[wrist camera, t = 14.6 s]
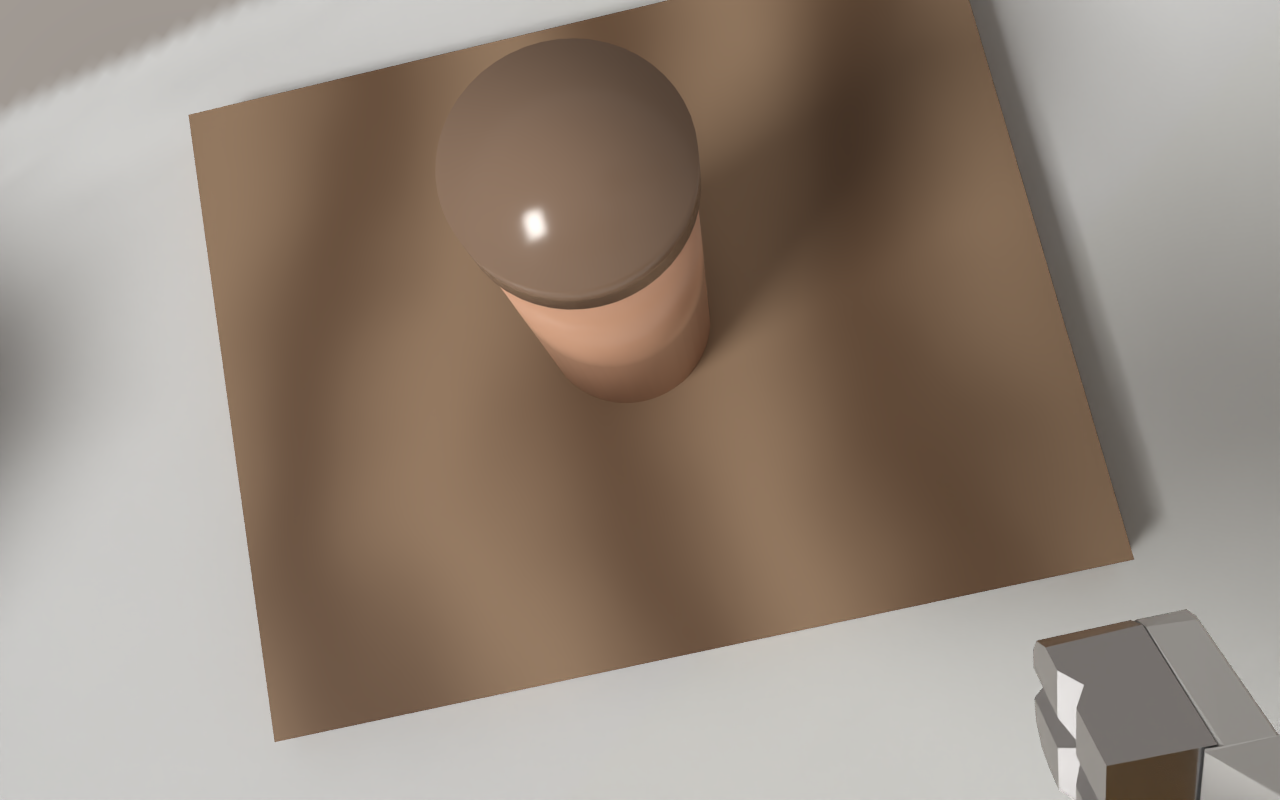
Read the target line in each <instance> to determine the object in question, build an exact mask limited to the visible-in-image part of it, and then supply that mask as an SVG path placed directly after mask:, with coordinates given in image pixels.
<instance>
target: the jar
mask: <svg viewBox="0 0 1280 800" xmlns="http://www.w3.org/2000/svg"><path fill="white" fill-rule="evenodd" d="M435 177H436V186H437V193H438V197H439V200H440V204H441V208H442V210H443V213H444V215H445V217H446V220H447V222H448V224H449V226H450V227H451V229H452V231H453V232H454V234H455V236H456V237H457V238H458V240H459V241H460V243H461V244H462V245H463V247H464V248H465V249H466V251H467V252H468V253H469V255H470V256H471V257H472V259H473V260H474V261H475V263H476V264H477V265H478V266H479V268H480V269H481V270H482V271H483V272H484V273H485V274H486V275H487V276H488V277H489V278H490V279H491V280H492V281H493V282H494V283H496V284H497V285H498V286H500V287H501V289H502V290H503V291H504V293H505V294H506V296H507V297H508V298H509V300H510V301H511V302H512V304H513V305H514V307H515V308H516V309H517V311H518V312H519V314H520V315H521V316H522V318H523V319H524V321H525V322H526V323H527V325H528V326H529V327H530V329H531V330H532V332H533V333H534V334H535V336H536V337H537V339H538V340H539V341H540V343H541V344H542V345H543V347H544V348H545V350H546V351H547V352H548V354H549V355H550V357H551V358H552V359H553V361H554V362H555V363H556V365H557V366H558V368H559V369H560V370H561V371H562V373H563V374H564V375H565V377H566V378H567V379H569V380H570V381H571V382H572V383H573V384H574V385H575V386H577V387H578V388H579V389H581V390H582V391H584V392H586V393H588V394H589V395H591V396H594V397H596V398H599V399H602V400H606V401H610V402H618V403H635V402H641V401H646V400H650V399H653V398H656V397H658V396H661V395H663V394H665V393H667V392H669V391H670V390H672V389H674V388H675V387H676V386H678V385H679V384H680V383H681V382H683V381H684V380H685V379H686V378H687V377H688V376H689V375H690V374H691V372H692V371H693V370H694V368H695V367H696V366H697V364H698V363H699V361H700V359H701V357H702V355H703V353H704V351H705V348H706V346H707V342H708V338H709V332H710V308H709V299H708V290H707V281H706V271H705V262H704V253H703V244H702V235H701V226H700V217H699V206H700V198H701V171H700V161H699V151H698V143H697V137H696V131H695V128H694V124H693V121H692V118H691V115H690V113H689V111H688V109H687V106H686V104H685V102H684V100H683V99H682V97H681V96H680V94H679V93H678V91H677V90H676V88H675V87H674V86H673V84H672V83H671V82H670V81H669V80H668V79H667V77H666V76H665V75H664V74H663V73H661V72H660V71H659V70H658V69H657V68H656V67H655V66H653V65H652V64H651V63H649V62H648V61H646V60H645V59H643V58H642V57H640V56H639V55H637V54H635V53H633V52H631V51H629V50H627V49H625V48H622V47H619V46H616V45H613V44H610V43H607V42H602V41H597V40H592V39H578V38H570V39H556V40H550V41H544V42H539V43H536V44H533V45H529V46H526V47H523V48H521V49H519V50H517V51H514V52H512V53H510V54H508V55H506V56H504V57H503V58H501V59H499V60H498V61H496V62H494V63H493V64H492V65H490V66H489V67H488V68H486V69H485V70H484V71H482V72H481V73H480V74H479V75H478V76H477V77H476V78H475V79H474V80H473V81H472V82H471V83H470V84H469V85H468V86H467V88H466V89H465V90H464V91H463V92H462V94H461V95H460V96H459V98H458V99H457V101H456V102H455V104H454V106H453V107H452V109H451V111H450V112H449V115H448V117H447V119H446V121H445V124H444V126H443V129H442V132H441V135H440V139H439V142H438V148H437V154H436V166H435Z"/></svg>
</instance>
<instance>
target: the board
mask: <svg viewBox="0 0 1280 800" xmlns="http://www.w3.org/2000/svg"><path fill="white" fill-rule="evenodd" d="M570 38H578V39H592V40H597V41H602V42H607V43H610V44H613V45H616V46H619V47H622V48H625V49H627V50H629V51H631V52H633V53H635V54H637V55H639V56H640V57H642V58H643V59H645V60H646V61H648V62H649V63H651V64H652V65H653V66H655V67H656V68H657V69H658V70H659V71H660V72H661V73H663V74H664V75H665V76H666V77H667V79H668V80H669V81H670V82H671V83H672V84H673V86H674V87H675V88H676V90H677V91H678V93H679V94H680V96H681V97H682V99H683V100H684V102H685V104H686V106H687V109H688V111H689V113H690V115H691V118H692V121H693V124H694V128H695V131H696V137H697V143H698V151H699V161H700V171H701V198H700V206H699V217H700V226H701V235H702V244H703V253H704V262H705V271H706V281H707V290H708V299H709V308H710V332H709V338H708V342H707V346H706V348H705V351H704V353H703V355H702V357H701V359H700V361H699V363H698V364H697V366H696V367H695V368H694V370H693V371H692V372H691V374H690V375H689V376H688V377H687V378H686V379H685V380H684V381H683V382H681V383H680V384H679V385H678V386H676V387H675V388H674V389H672V390H670V391H669V392H667V393H665V394H663V395H661V396H658V397H656V398H653V399H650V400H646V401H641V402H635V403H618V402H610V401H606V400H602V399H599V398H596V397H594V396H591V395H589V394H588V393H586V392H584V391H582V390H581V389H579V388H578V387H577V386H575V385H574V384H573V383H572V382H571V381H570V380H569V379H567V378H566V377H565V375H564V374H563V373H562V371H561V370H560V369H559V368H558V366H557V365H556V363H555V362H554V361H553V359H552V358H551V357H550V355H549V354H548V352H547V351H546V350H545V348H544V347H543V345H542V344H541V343H540V341H539V340H538V339H537V337H536V336H535V334H534V333H533V332H532V330H531V329H530V327H529V326H528V325H527V323H526V322H525V321H524V319H523V318H522V316H521V315H520V314H519V312H518V311H517V309H516V308H515V307H514V305H513V304H512V302H511V301H510V300H509V298H508V297H507V296H506V294H505V293H504V291H503V290H502V289H501V287H500V286H498V285H497V284H496V283H494V282H493V281H492V280H491V279H490V278H489V277H488V276H487V275H486V274H485V273H484V272H483V271H482V270H481V269H480V268H479V266H478V265H477V264H476V263H475V261H474V260H473V259H472V257H471V256H470V255H469V253H468V252H467V251H466V249H465V248H464V247H463V245H462V244H461V243H460V241H459V240H458V238H457V237H456V236H455V234H454V232H453V231H452V229H451V227H450V226H449V224H448V222H447V220H446V217H445V215H444V213H443V210H442V208H441V204H440V200H439V197H438V193H437V186H436V177H435V166H436V154H437V148H438V142H439V139H440V135H441V132H442V129H443V126H444V124H445V121H446V119H447V117H448V115H449V112H450V111H451V109H452V107H453V106H454V104H455V102H456V101H457V99H458V98H459V96H460V95H461V94H462V92H463V91H464V90H465V89H466V88H467V86H468V85H469V84H470V83H471V82H472V81H473V80H474V79H475V78H476V77H477V76H478V75H479V74H480V73H481V72H482V71H484V70H485V69H486V68H488V67H489V66H490V65H492V64H493V63H494V62H496V61H498V60H499V59H501V58H503V57H504V56H506V55H508V54H510V53H512V52H514V51H517V50H519V49H521V48H523V47H526V46H529V45H533V44H536V43H539V42H544V41H550V40H556V39H570ZM189 121H190V128H191V136H192V143H193V150H194V157H195V165H196V172H197V179H198V187H199V194H200V201H201V208H202V216H203V223H204V230H205V238H206V245H207V252H208V259H209V267H210V274H211V281H212V289H213V296H214V303H215V310H216V318H217V325H218V332H219V340H220V347H221V354H222V361H223V369H224V376H225V383H226V391H227V398H228V405H229V412H230V420H231V427H232V434H233V442H234V449H235V456H236V464H237V471H238V478H239V485H240V493H241V500H242V507H243V515H244V522H245V529H246V536H247V544H248V551H249V558H250V566H251V573H252V580H253V587H254V595H255V602H256V609H257V617H258V624H259V631H260V638H261V646H262V653H263V660H264V668H265V675H266V682H267V689H268V697H269V704H270V711H271V719H272V726H273V733H274V740H275V742H277V741H282V740H286V739H291V738H296V737H300V736H305V735H310V734H315V733H319V732H324V731H329V730H333V729H338V728H343V727H348V726H352V725H357V724H362V723H366V722H371V721H376V720H380V719H385V718H390V717H395V716H399V715H404V714H409V713H413V712H418V711H423V710H428V709H432V708H437V707H442V706H446V705H451V704H456V703H461V702H465V701H470V700H475V699H479V698H484V697H489V696H493V695H498V694H503V693H508V692H512V691H517V690H522V689H526V688H531V687H536V686H541V685H545V684H550V683H555V682H559V681H564V680H569V679H573V678H578V677H583V676H588V675H592V674H597V673H602V672H606V671H611V670H616V669H621V668H625V667H630V666H635V665H639V664H644V663H649V662H653V661H658V660H663V659H668V658H672V657H677V656H682V655H686V654H691V653H696V652H701V651H705V650H710V649H715V648H719V647H724V646H729V645H733V644H738V643H743V642H748V641H752V640H757V639H762V638H766V637H771V636H776V635H781V634H785V633H790V632H795V631H799V630H804V629H809V628H813V627H818V626H823V625H828V624H832V623H837V622H842V621H846V620H851V619H856V618H861V617H865V616H870V615H875V614H879V613H884V612H889V611H893V610H898V609H903V608H908V607H912V606H917V605H922V604H926V603H931V602H936V601H941V600H945V599H950V598H955V597H959V596H964V595H969V594H974V593H978V592H983V591H988V590H992V589H997V588H1002V587H1006V586H1011V585H1016V584H1021V583H1025V582H1030V581H1035V580H1039V579H1044V578H1049V577H1054V576H1058V575H1063V574H1068V573H1072V572H1077V571H1082V570H1086V569H1091V568H1096V567H1101V566H1105V565H1110V564H1115V563H1119V562H1124V561H1129V560H1134V557H1133V554H1132V551H1131V547H1130V544H1129V541H1128V537H1127V534H1126V530H1125V527H1124V524H1123V520H1122V517H1121V513H1120V510H1119V507H1118V503H1117V500H1116V496H1115V493H1114V490H1113V486H1112V483H1111V480H1110V476H1109V473H1108V469H1107V466H1106V463H1105V459H1104V456H1103V452H1102V449H1101V446H1100V442H1099V439H1098V435H1097V432H1096V429H1095V425H1094V422H1093V419H1092V415H1091V412H1090V408H1089V405H1088V402H1087V398H1086V395H1085V391H1084V388H1083V385H1082V381H1081V378H1080V374H1079V371H1078V368H1077V364H1076V361H1075V358H1074V354H1073V351H1072V347H1071V344H1070V341H1069V337H1068V334H1067V330H1066V327H1065V324H1064V320H1063V317H1062V313H1061V310H1060V307H1059V303H1058V300H1057V297H1056V293H1055V290H1054V286H1053V283H1052V280H1051V276H1050V273H1049V269H1048V266H1047V263H1046V259H1045V256H1044V252H1043V249H1042V246H1041V242H1040V239H1039V236H1038V232H1037V229H1036V225H1035V222H1034V219H1033V215H1032V212H1031V208H1030V205H1029V202H1028V198H1027V195H1026V191H1025V188H1024V185H1023V181H1022V178H1021V175H1020V171H1019V168H1018V164H1017V161H1016V158H1015V154H1014V151H1013V147H1012V144H1011V141H1010V137H1009V134H1008V130H1007V127H1006V124H1005V120H1004V117H1003V114H1002V110H1001V107H1000V103H999V100H998V97H997V93H996V90H995V86H994V83H993V80H992V76H991V73H990V69H989V66H988V63H987V59H986V56H985V52H984V49H983V46H982V42H981V39H980V36H979V32H978V29H977V25H976V22H975V19H974V15H973V12H972V8H971V5H970V2H969V0H667V1H663V2H659V3H655V4H651V5H647V6H642V7H638V8H634V9H630V10H626V11H621V12H617V13H613V14H609V15H605V16H601V17H596V18H592V19H588V20H584V21H580V22H575V23H571V24H567V25H563V26H559V27H555V28H550V29H546V30H542V31H538V32H534V33H529V34H525V35H521V36H517V37H513V38H509V39H504V40H500V41H496V42H492V43H488V44H483V45H479V46H475V47H471V48H467V49H463V50H458V51H454V52H450V53H446V54H442V55H437V56H433V57H429V58H425V59H421V60H417V61H412V62H408V63H404V64H400V65H396V66H391V67H387V68H383V69H379V70H375V71H371V72H366V73H362V74H358V75H354V76H350V77H345V78H341V79H337V80H333V81H329V82H325V83H320V84H316V85H312V86H308V87H304V88H299V89H295V90H291V91H287V92H283V93H279V94H274V95H270V96H266V97H262V98H258V99H253V100H249V101H245V102H241V103H237V104H233V105H228V106H224V107H220V108H216V109H212V110H207V111H203V112H199V113H195V114H191V115H189Z"/></svg>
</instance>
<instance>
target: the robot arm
mask: <svg viewBox="0 0 1280 800" xmlns="http://www.w3.org/2000/svg"><path fill="white" fill-rule="evenodd" d="M1033 665H1034V669H1035V672H1036V674H1037V676H1038V678H1039V680H1040V682H1041V684H1042V686H1043V688H1042V689H1041V690H1040V692H1039V693H1038V694H1037V695H1036V697H1035V713H1036V723H1037V728H1038V732H1039V737H1040V741H1041V746H1042V749H1043V752H1044V755H1045V757H1046V760H1047V763H1048V766H1049V769H1050V771H1051V773H1052V775H1053V778H1054V780H1055V782H1056V784H1057V787H1058V789H1059V790H1060V791H1061V792H1063V793H1065V794H1066V795H1068V796H1069V797H1071V798H1072V799H1074V800H1280V734H1279V735H1278V733H1277V732H1276V730H1275V729H1274V728H1273V726H1272V725H1271V723H1270V722H1269V720H1268V719H1267V717H1266V716H1265V715H1264V713H1263V712H1262V710H1261V709H1260V707H1259V706H1258V704H1257V703H1256V702H1255V700H1254V699H1253V697H1252V696H1251V694H1250V693H1249V691H1248V690H1247V689H1246V687H1245V686H1244V684H1243V683H1242V681H1241V680H1240V678H1239V677H1238V676H1237V674H1236V673H1235V671H1234V670H1233V668H1232V667H1231V665H1230V664H1229V663H1228V661H1227V660H1226V658H1225V657H1224V655H1223V654H1222V652H1221V651H1220V650H1219V648H1218V647H1217V645H1216V644H1215V642H1214V641H1213V639H1212V638H1211V637H1210V635H1209V634H1208V632H1207V631H1206V629H1205V628H1204V626H1203V625H1202V624H1201V622H1200V621H1199V619H1198V618H1197V616H1196V615H1194V614H1193V613H1191V612H1190V611H1188V610H1187V609H1185V610H1181V611H1176V612H1171V613H1166V614H1161V615H1157V616H1152V617H1147V618H1142V619H1137V620H1135V621H1131V620H1129V621H1125V622H1120V623H1116V624H1111V625H1107V626H1102V627H1097V628H1093V629H1088V630H1084V631H1079V632H1074V633H1070V634H1065V635H1061V636H1056V637H1051V638H1047V639H1042V640H1038V641H1036V643H1035V646H1034V649H1033Z"/></svg>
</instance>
